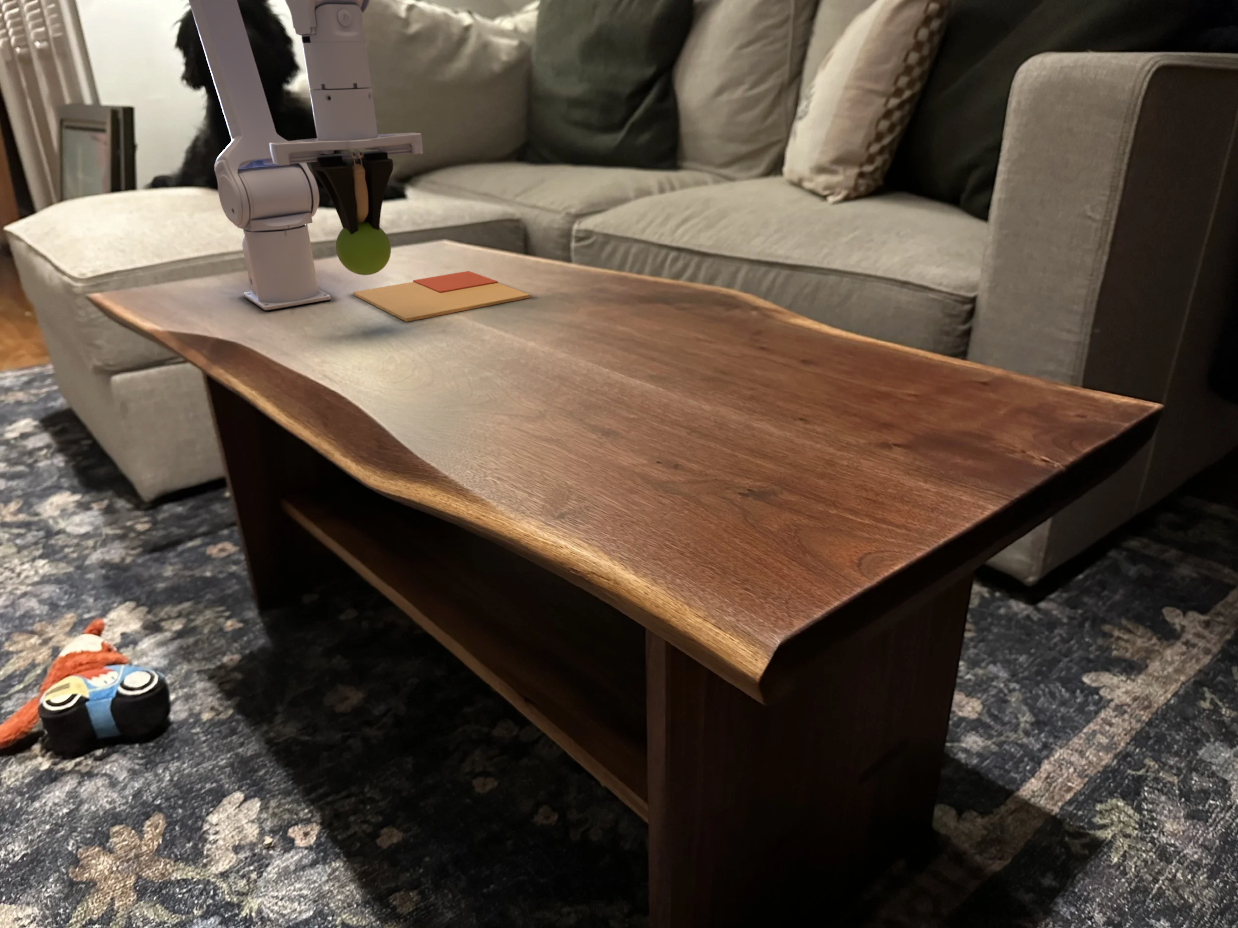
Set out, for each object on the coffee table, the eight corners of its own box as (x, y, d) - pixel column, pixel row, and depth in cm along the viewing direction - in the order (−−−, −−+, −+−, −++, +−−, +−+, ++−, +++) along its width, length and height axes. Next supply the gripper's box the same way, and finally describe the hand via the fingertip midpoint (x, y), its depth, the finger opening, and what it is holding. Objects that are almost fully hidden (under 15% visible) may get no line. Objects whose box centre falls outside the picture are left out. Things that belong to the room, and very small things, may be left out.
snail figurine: (355, 282, 86) (328, 155, 82) (335, 277, 91) (309, 156, 87) (406, 273, 89) (383, 149, 85) (384, 268, 94) (361, 151, 90)
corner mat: (353, 295, 108) (352, 290, 108) (468, 275, 117) (468, 271, 116) (406, 322, 97) (405, 316, 96) (530, 297, 105) (530, 292, 105)
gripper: (275, 93, 76) (303, 249, 82) (429, 86, 84) (444, 230, 89) (253, 91, 81) (280, 239, 87) (399, 85, 89) (416, 221, 95)
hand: (361, 234), depth 89 cm, fingers closed on snail figurine
